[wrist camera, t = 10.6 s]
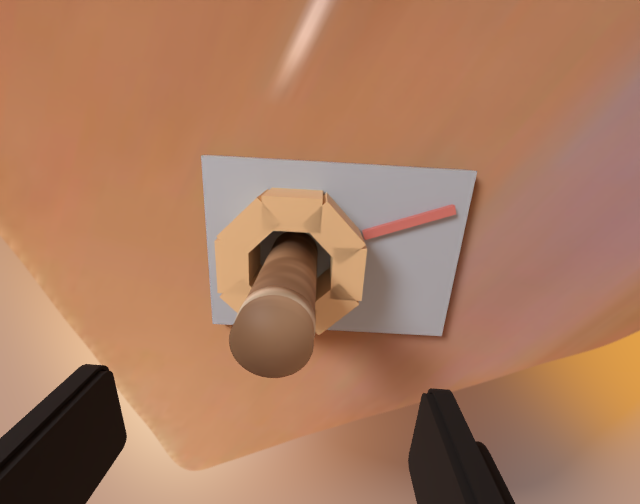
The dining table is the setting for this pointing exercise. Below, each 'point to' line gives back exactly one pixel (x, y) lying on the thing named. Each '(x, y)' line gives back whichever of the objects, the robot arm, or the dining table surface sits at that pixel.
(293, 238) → the brown banded cylinder
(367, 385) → the dining table surface
